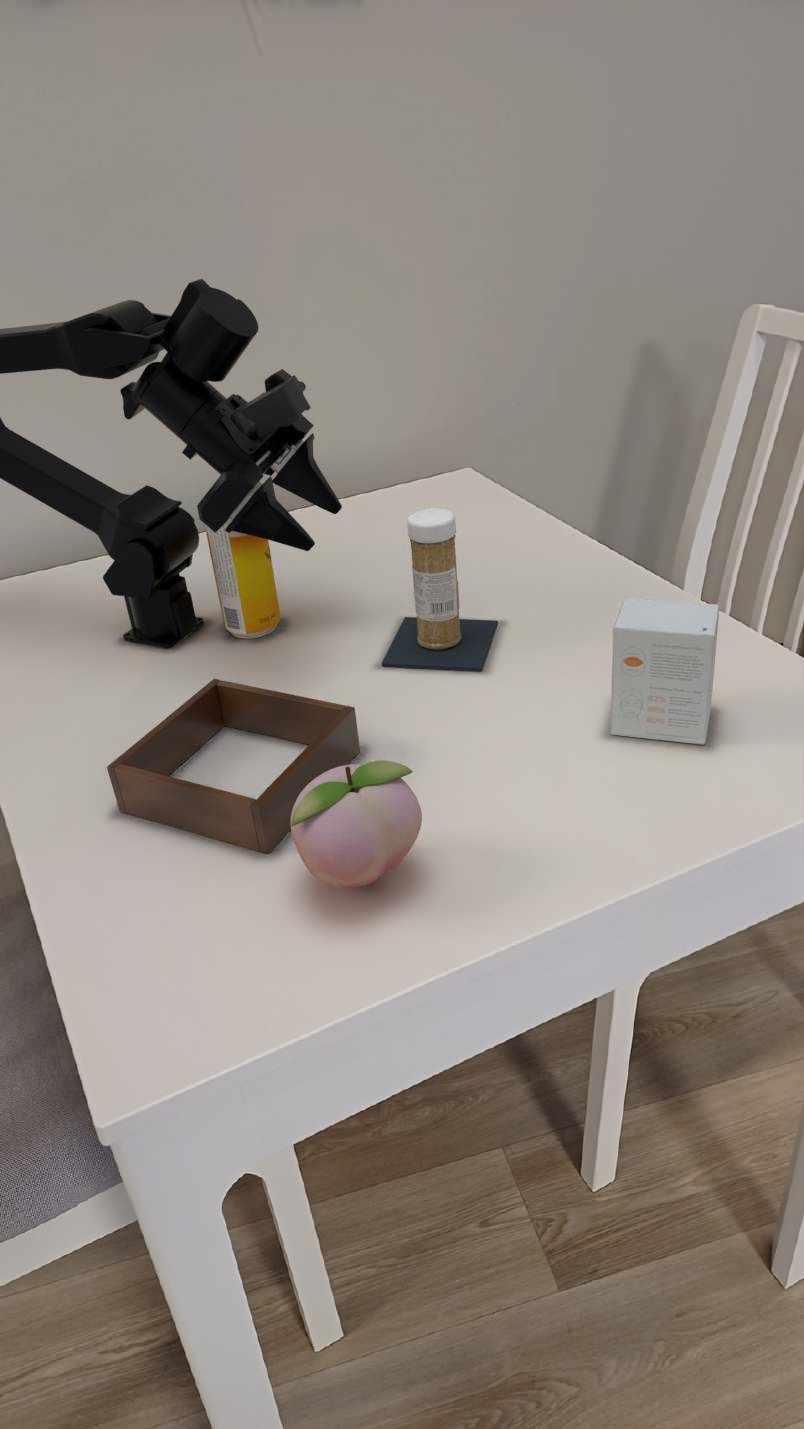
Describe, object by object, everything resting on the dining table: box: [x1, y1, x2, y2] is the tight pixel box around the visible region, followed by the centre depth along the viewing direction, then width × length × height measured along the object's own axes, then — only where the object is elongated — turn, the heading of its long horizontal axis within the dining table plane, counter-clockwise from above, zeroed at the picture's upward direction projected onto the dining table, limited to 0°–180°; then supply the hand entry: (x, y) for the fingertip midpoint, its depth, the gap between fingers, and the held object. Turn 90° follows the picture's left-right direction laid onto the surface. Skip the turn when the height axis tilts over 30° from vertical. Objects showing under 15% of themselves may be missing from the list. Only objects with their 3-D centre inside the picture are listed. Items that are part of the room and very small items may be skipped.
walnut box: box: [106, 678, 361, 855], centre depth 82 cm, size 15×15×4 cm
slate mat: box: [381, 616, 499, 673], centre depth 101 cm, size 10×10×1 cm
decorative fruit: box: [290, 760, 423, 888], centre depth 69 cm, size 9×8×10 cm
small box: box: [609, 597, 720, 745], centre depth 83 cm, size 8×6×10 cm
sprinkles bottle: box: [406, 507, 461, 650], centre depth 97 cm, size 5×5×13 cm
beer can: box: [204, 517, 282, 640], centre depth 103 cm, size 6×6×15 cm
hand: (326, 528), depth 96 cm, fingers open, 9 cm apart
